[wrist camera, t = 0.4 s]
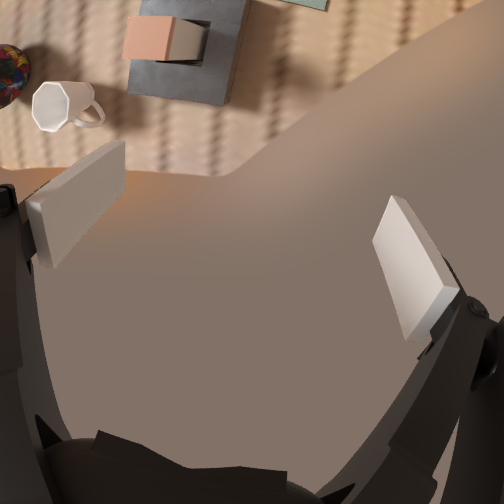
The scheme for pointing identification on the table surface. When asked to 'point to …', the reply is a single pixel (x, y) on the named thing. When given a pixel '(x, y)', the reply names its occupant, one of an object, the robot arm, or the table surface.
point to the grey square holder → (215, 57)
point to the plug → (164, 39)
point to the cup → (64, 105)
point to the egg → (12, 73)
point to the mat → (310, 3)
